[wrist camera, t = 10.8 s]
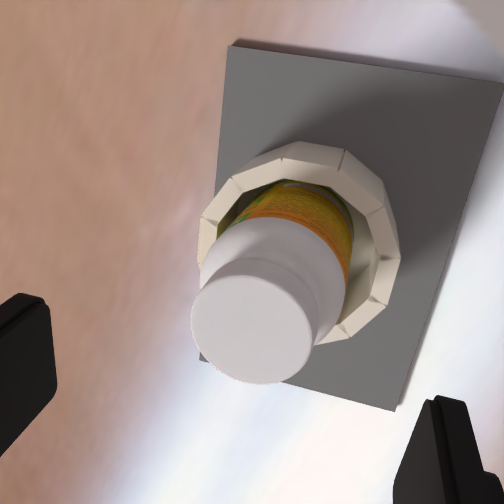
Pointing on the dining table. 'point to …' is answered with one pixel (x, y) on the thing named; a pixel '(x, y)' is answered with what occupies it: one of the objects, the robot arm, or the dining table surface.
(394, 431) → the dining table surface
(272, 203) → the supplement bottle
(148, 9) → the dining table surface
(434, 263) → the placemat
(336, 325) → the cream hollow ring
